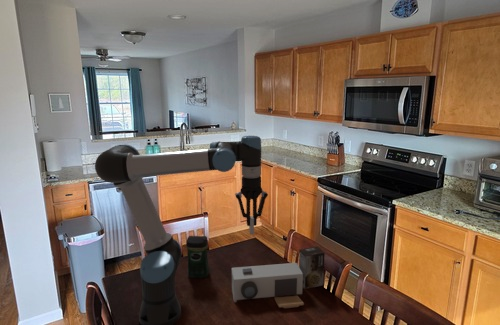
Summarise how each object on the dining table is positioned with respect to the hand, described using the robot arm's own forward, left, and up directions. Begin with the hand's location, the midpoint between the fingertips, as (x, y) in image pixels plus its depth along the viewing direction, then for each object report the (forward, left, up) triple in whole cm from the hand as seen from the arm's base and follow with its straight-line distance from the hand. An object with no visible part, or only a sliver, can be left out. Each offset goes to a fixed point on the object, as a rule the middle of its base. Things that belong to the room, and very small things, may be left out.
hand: (251, 232), depth 134 cm
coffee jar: (-22, +17, -27) cm, 38 cm away
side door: (+13, -7, -25) cm, 29 cm away
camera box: (+6, -2, -26) cm, 27 cm away
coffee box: (+26, +1, -27) cm, 37 cm away
